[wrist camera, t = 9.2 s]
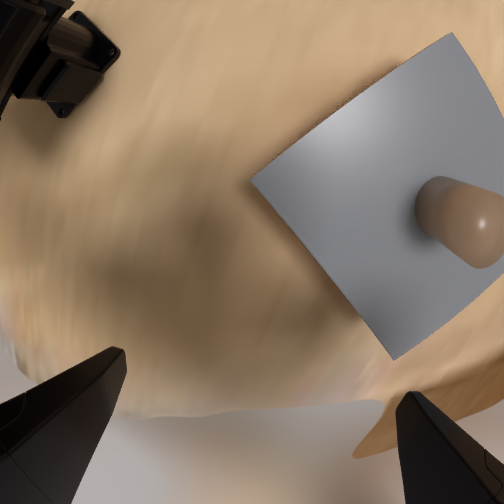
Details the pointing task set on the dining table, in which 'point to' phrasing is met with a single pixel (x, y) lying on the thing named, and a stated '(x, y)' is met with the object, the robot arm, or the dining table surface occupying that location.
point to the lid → (402, 194)
